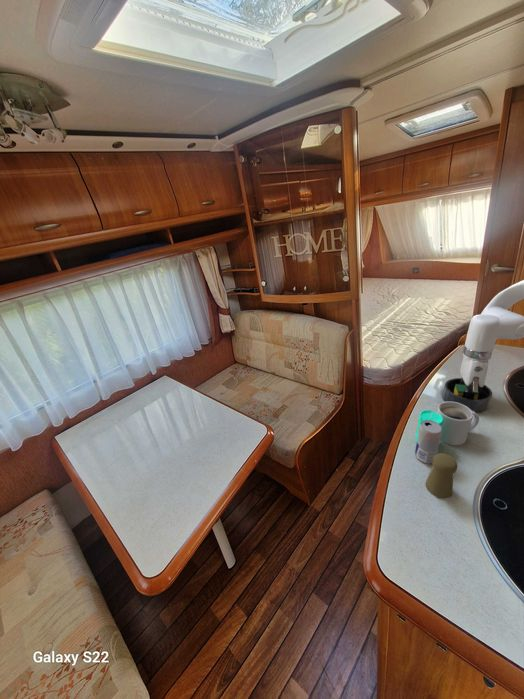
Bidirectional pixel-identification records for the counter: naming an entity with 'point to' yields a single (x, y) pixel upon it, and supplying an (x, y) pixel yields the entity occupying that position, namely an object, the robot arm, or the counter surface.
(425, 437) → the energy drink
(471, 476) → the counter surface
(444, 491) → the cork
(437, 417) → the candle
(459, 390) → the sponge
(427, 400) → the counter surface
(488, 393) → the bowl
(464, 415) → the mug
